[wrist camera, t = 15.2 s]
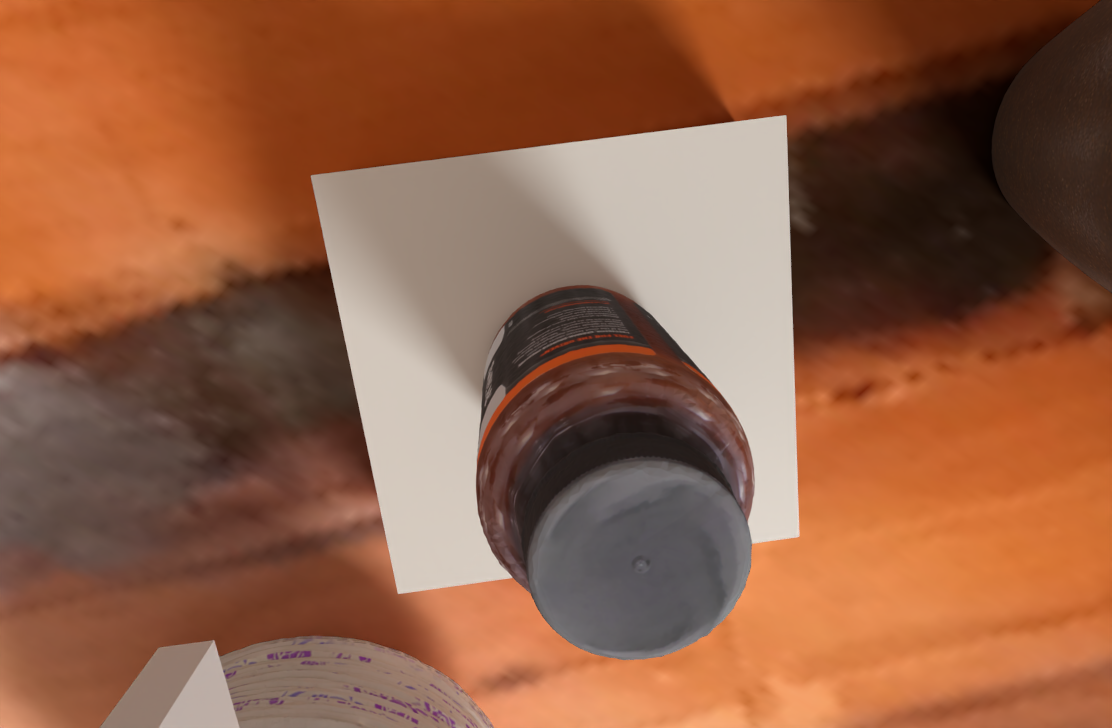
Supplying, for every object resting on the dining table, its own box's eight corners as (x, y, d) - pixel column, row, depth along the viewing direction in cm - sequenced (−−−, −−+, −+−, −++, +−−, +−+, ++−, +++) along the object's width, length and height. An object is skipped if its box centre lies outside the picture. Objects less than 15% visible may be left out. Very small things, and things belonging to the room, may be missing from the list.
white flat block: (735, 121, 26) (786, 115, 22) (753, 476, 30) (799, 536, 26) (346, 171, 26) (310, 175, 21) (415, 523, 30) (397, 594, 25)
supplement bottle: (444, 367, 23) (388, 557, 12) (587, 240, 22) (664, 322, 11) (568, 494, 25) (618, 764, 14) (707, 379, 24) (876, 569, 13)
